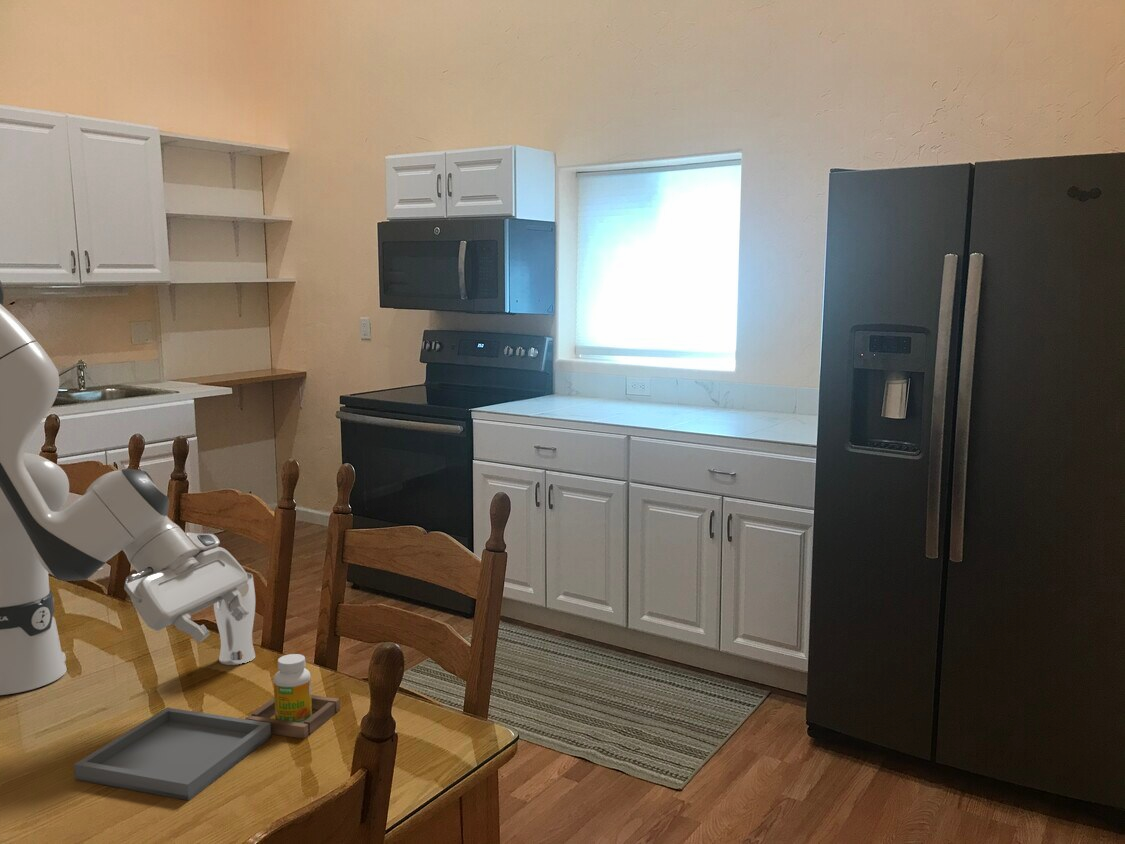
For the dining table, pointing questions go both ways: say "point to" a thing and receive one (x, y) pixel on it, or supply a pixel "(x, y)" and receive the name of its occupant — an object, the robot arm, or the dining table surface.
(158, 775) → the grey tray
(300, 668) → the supplement bottle
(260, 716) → the frame
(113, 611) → the dining table surface
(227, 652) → the beer glass
